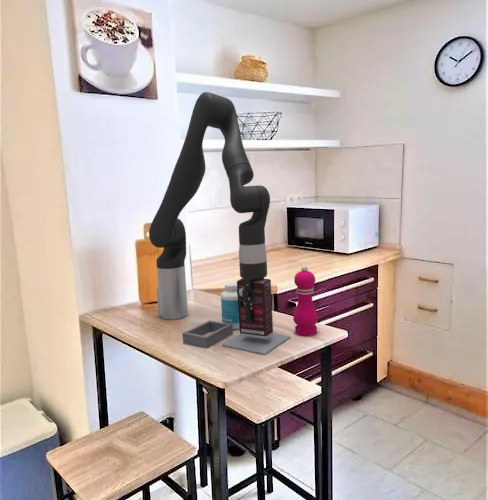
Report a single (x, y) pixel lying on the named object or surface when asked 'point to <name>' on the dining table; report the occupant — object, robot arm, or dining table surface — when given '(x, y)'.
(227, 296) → the pill bottle
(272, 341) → the slate mat
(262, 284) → the supplement box
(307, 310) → the pepper mill
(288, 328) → the dining table surface
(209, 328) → the gray rectangular frame
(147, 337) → the dining table surface
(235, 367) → the dining table surface
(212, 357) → the dining table surface
